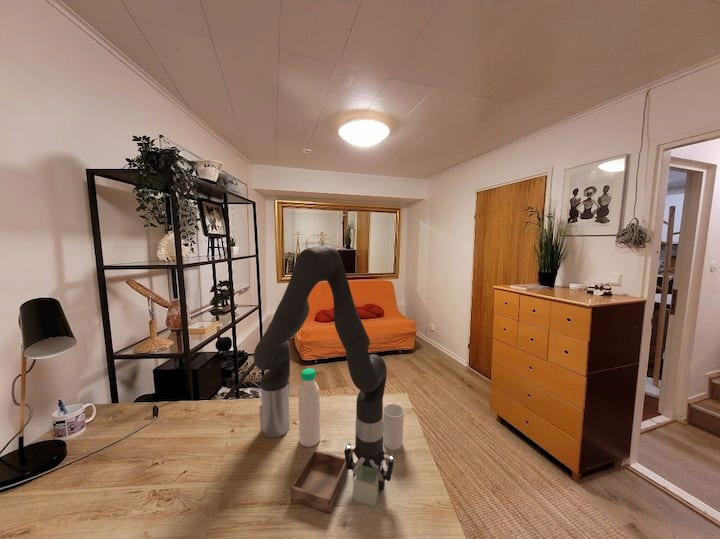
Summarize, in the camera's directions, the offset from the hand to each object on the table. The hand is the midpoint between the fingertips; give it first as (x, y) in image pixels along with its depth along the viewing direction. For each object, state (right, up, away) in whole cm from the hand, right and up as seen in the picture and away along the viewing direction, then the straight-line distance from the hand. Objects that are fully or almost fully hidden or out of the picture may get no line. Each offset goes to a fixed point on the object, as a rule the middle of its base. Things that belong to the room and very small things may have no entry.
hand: (368, 485), depth 74 cm
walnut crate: (-13, -1, +1) cm, 13 cm away
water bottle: (-20, +1, +18) cm, 26 cm away
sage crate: (0, -1, 0) cm, 1 cm away
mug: (+9, +1, +18) cm, 20 cm away
